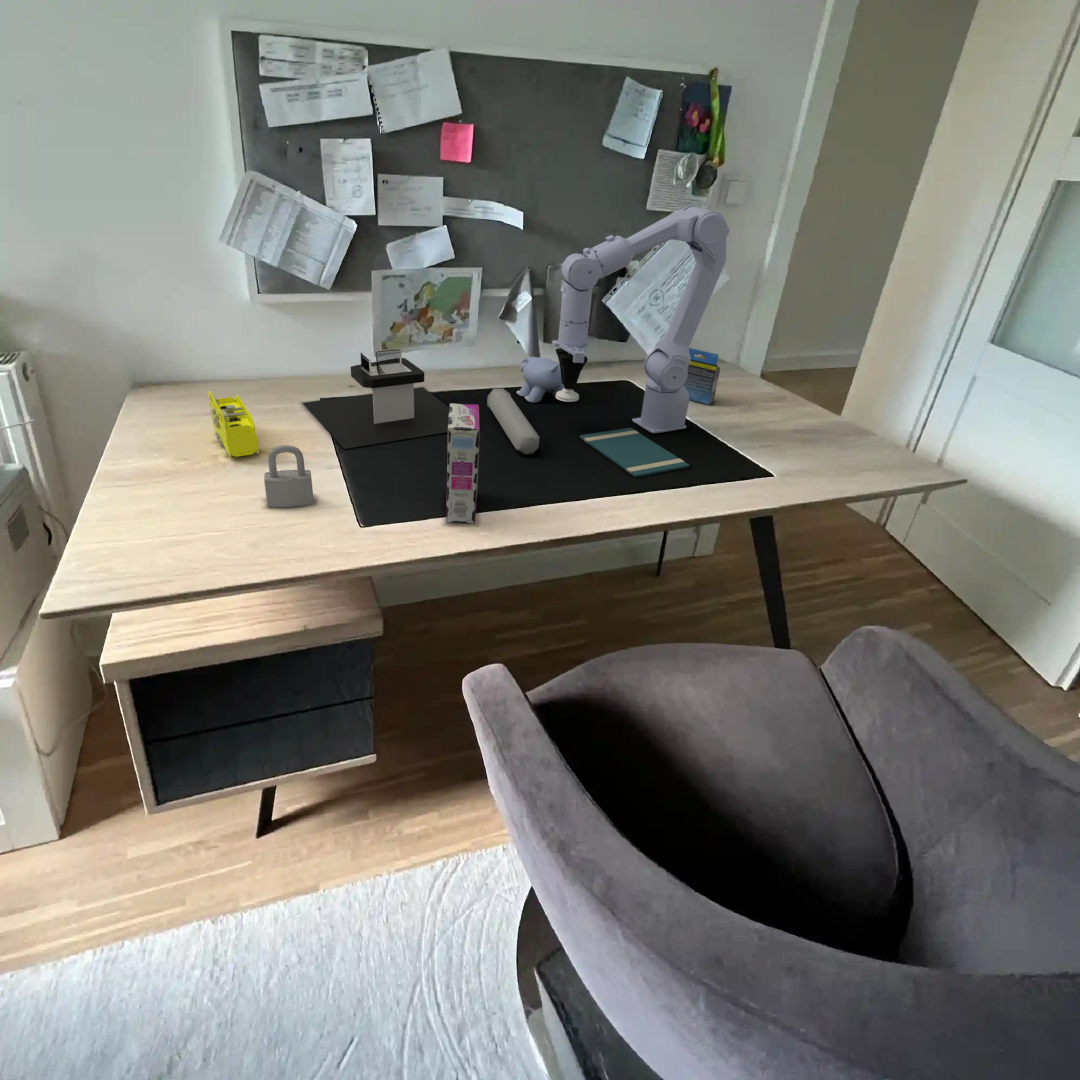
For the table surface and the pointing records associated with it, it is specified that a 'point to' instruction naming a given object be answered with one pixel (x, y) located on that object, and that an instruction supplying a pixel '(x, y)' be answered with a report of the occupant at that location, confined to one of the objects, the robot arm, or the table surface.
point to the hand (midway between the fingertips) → (568, 386)
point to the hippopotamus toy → (540, 378)
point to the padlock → (288, 481)
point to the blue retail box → (702, 376)
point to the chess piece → (567, 395)
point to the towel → (634, 452)
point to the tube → (513, 421)
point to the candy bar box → (462, 463)
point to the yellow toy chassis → (233, 425)
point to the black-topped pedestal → (382, 405)
